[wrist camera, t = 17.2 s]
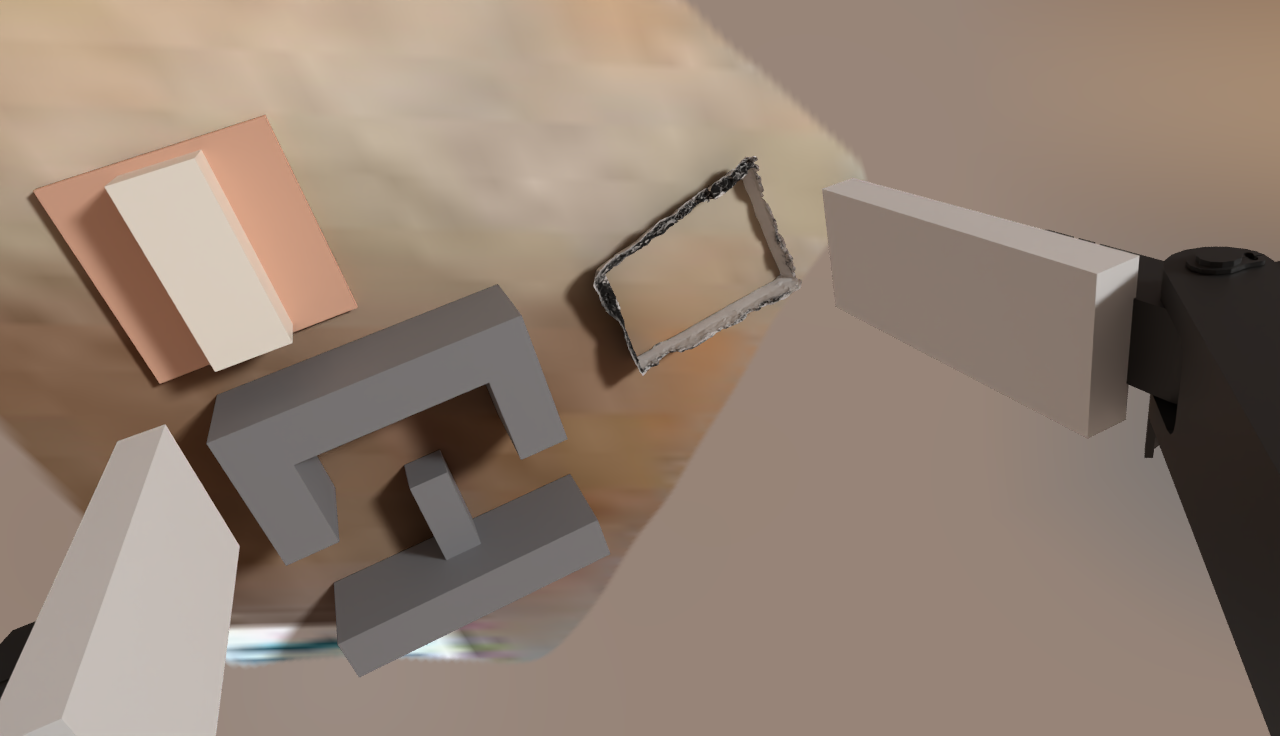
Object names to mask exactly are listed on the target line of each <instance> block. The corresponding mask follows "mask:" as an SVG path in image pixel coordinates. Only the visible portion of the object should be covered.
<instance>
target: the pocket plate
mask: <svg viewBox="0 0 1280 736" xmlns="http://www.w3.org/2000/svg"><path fill="white" fill-rule="evenodd" d="M484 384H486V386H487V389H488V391H489V393H490V396H491V398H492V401H493V403H494V405H495V408H496V410H497V413H498V415H499V417H500V419H501V421H502V423H503V425H504V427H505V429H506V431H507V433H508V435H509V437H510V439H511V441H512V443H513V445H514V447H515V449H516V451H517V453H518V455H519V457H520V459H521V460H522V459H524V458H526V457H529V456H531V455H533V454H535V453H538V452H540V451H542V450H544V449H546V448H549V447H551V446H553V445H555V444H558V443H560V442H562V441H564V440H566V439H567V436H566V433H565V431H564V428H563V425H562V423H561V420H560V417H559V415H558V412H557V409H556V407H555V404H554V401H553V399H552V396H551V393H550V390H549V388H548V385H547V382H546V380H545V377H544V374H543V372H542V369H541V366H540V364H539V361H538V358H537V356H536V353H535V350H534V347H533V345H532V342H531V339H530V337H529V334H528V331H527V329H526V326H525V323H524V321H523V318H522V315H521V314H520V313H519V311H518V310H517V309H516V307H515V306H514V305H513V303H512V302H511V301H510V299H509V298H508V297H507V296H506V294H505V293H504V292H503V290H502V289H501V288H500V286H499V285H498V284H497V285H495V286H492V287H489V288H487V289H484V290H482V291H479V292H477V293H474V294H472V295H469V296H467V297H464V298H462V299H459V300H457V301H454V302H451V303H449V304H446V305H444V306H441V307H439V308H436V309H434V310H431V311H429V312H426V313H424V314H421V315H419V316H416V317H414V318H411V319H408V320H406V321H403V322H401V323H398V324H396V325H393V326H391V327H388V328H386V329H383V330H381V331H378V332H376V333H373V334H370V335H368V336H365V337H363V338H360V339H358V340H355V341H353V342H350V343H348V344H345V345H343V346H340V347H338V348H335V349H332V350H330V351H327V352H325V353H322V354H320V355H317V356H315V357H312V358H310V359H307V360H305V361H302V362H300V363H297V364H294V365H292V366H289V367H287V368H284V369H282V370H279V371H277V372H274V373H272V374H269V375H267V376H264V377H262V378H259V379H257V380H254V381H251V382H249V383H246V384H244V385H241V386H239V387H236V388H234V389H231V390H229V391H226V392H224V393H221V394H219V395H217V398H216V403H215V407H214V412H213V416H212V421H211V425H210V430H209V434H208V439H207V443H206V444H207V445H208V447H209V448H210V450H211V451H212V453H213V454H214V456H215V457H216V459H217V460H218V462H219V464H220V465H221V467H222V468H223V470H224V471H225V473H226V474H227V476H228V477H229V479H230V480H231V482H232V483H233V485H234V486H235V488H236V490H237V491H238V493H239V494H240V496H241V497H242V499H243V500H244V502H245V503H246V505H247V506H248V508H249V509H250V511H251V513H252V514H253V516H254V517H255V519H256V520H257V522H258V523H259V525H260V526H261V528H262V529H263V531H264V532H265V534H266V536H267V537H268V539H269V540H270V542H271V543H272V545H273V546H274V548H275V549H276V551H277V552H278V554H279V555H280V557H281V558H282V560H283V562H284V563H285V565H286V566H287V565H289V564H291V563H293V562H295V561H298V560H300V559H302V558H304V557H307V556H309V555H311V554H313V553H315V552H318V551H320V550H322V549H324V548H327V547H329V546H331V545H333V544H335V543H338V542H339V532H338V519H337V506H336V492H335V487H334V485H333V483H332V481H331V480H330V478H329V476H328V474H327V473H326V471H325V469H324V467H323V466H322V464H321V462H320V460H319V459H318V457H317V455H319V454H321V453H324V452H326V451H328V450H331V449H333V448H336V447H338V446H340V445H343V444H345V443H347V442H350V441H352V440H354V439H357V438H359V437H362V436H364V435H366V434H369V433H371V432H373V431H376V430H378V429H380V428H383V427H385V426H388V425H390V424H392V423H395V422H397V421H399V420H402V419H404V418H406V417H409V416H411V415H414V414H416V413H418V412H421V411H423V410H425V409H428V408H430V407H432V406H435V405H437V404H440V403H442V402H444V401H447V400H449V399H451V398H454V397H456V396H458V395H461V394H463V393H466V392H468V391H470V390H473V389H475V388H477V387H480V386H482V385H484ZM404 466H405V471H406V475H407V479H408V483H409V487H410V490H411V492H412V494H413V496H414V498H415V500H416V502H417V504H418V506H419V508H420V510H421V512H422V514H423V516H424V517H425V519H426V521H427V523H428V525H429V527H430V529H431V531H432V533H433V535H434V537H432V538H430V539H428V540H426V541H424V542H422V543H419V544H417V545H415V546H413V547H411V548H409V549H406V550H404V551H402V552H400V553H398V554H396V555H393V556H391V557H389V558H387V559H385V560H383V561H380V562H378V563H376V564H374V565H372V566H370V567H367V568H365V569H363V570H361V571H359V572H356V573H354V574H352V575H350V576H348V577H346V578H343V579H341V580H339V581H337V582H335V583H334V593H335V609H336V625H337V642H338V646H339V647H340V649H341V650H342V652H343V653H344V655H345V657H346V658H347V660H348V661H349V663H350V664H351V666H352V667H353V669H354V670H355V672H356V673H357V675H358V676H359V677H361V676H363V675H365V674H367V673H369V672H371V671H373V670H375V669H377V668H379V667H381V666H384V665H385V664H388V663H390V662H392V661H394V660H396V659H398V658H400V657H402V656H404V655H406V654H408V653H410V652H412V651H414V650H416V649H418V648H420V647H422V646H424V645H426V644H428V643H430V642H432V641H434V640H436V639H439V638H441V637H443V636H445V635H447V634H449V633H451V632H453V631H455V630H457V629H459V628H461V627H463V626H465V625H467V624H469V623H471V622H473V621H475V620H477V619H479V618H481V617H483V616H485V615H487V614H489V613H491V612H493V611H495V610H498V609H500V608H502V607H504V606H506V605H508V604H510V603H512V602H514V601H516V600H518V599H520V598H522V597H524V596H526V595H528V594H530V593H532V592H534V591H536V590H538V589H540V588H542V587H544V586H546V585H548V584H550V583H552V582H554V581H557V580H559V579H561V578H563V577H565V576H567V575H569V574H571V573H573V572H575V571H577V570H579V569H581V568H583V567H585V566H587V565H589V564H591V563H593V562H595V561H597V560H599V559H601V558H603V557H605V556H607V555H609V554H610V552H609V549H608V546H607V544H606V541H605V538H604V536H603V533H602V530H601V528H600V525H599V522H598V520H597V518H596V516H595V515H594V513H593V511H592V510H591V508H590V506H589V505H588V503H587V501H586V500H585V498H584V496H583V495H582V493H581V491H580V490H579V488H578V486H577V485H576V483H575V481H574V480H573V478H572V476H571V475H570V474H569V475H567V476H565V477H562V478H560V479H558V480H556V481H554V482H552V483H549V484H547V485H545V486H543V487H541V488H539V489H536V490H534V491H532V492H530V493H528V494H526V495H523V496H521V497H519V498H517V499H515V500H513V501H510V502H508V503H506V504H504V505H502V506H500V507H497V508H495V509H493V510H491V511H489V512H487V513H484V514H482V515H480V516H478V517H476V518H474V519H472V517H471V514H470V512H469V510H468V508H467V506H466V504H465V502H464V500H463V498H462V495H461V493H460V491H459V489H458V487H457V485H456V483H455V481H454V479H453V476H452V474H451V472H450V470H449V468H448V466H447V464H446V462H445V460H444V458H443V455H442V453H441V451H440V450H438V451H436V452H433V453H431V454H429V455H426V456H424V457H422V458H420V459H417V460H415V461H413V462H410V463H408V464H406V465H404Z"/></svg>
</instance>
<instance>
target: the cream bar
mask: <svg viewBox="0 0 1280 736" xmlns="http://www.w3.org/2000/svg"><path fill="white" fill-rule="evenodd" d="M105 189H106V190H107V192H108V194H109V195H110V197H111V199H112V200H113V202H114V204H115V205H116V207H117V209H118V211H119V212H120V214H121V216H122V217H123V219H124V221H125V222H126V224H127V226H128V227H129V229H130V231H131V232H132V234H133V236H134V237H135V239H136V241H137V242H138V244H139V246H140V247H141V249H142V251H143V252H144V254H145V256H146V257H147V259H148V261H149V262H150V264H151V266H152V267H153V269H154V271H155V272H156V274H157V276H158V277H159V279H160V281H161V282H162V284H163V286H164V287H165V289H166V291H167V292H168V294H169V296H170V297H171V299H172V301H173V302H174V304H175V306H176V307H177V309H178V311H179V313H180V314H181V316H182V318H183V319H184V321H185V323H186V324H187V326H188V328H189V329H190V331H191V333H192V334H193V336H194V338H195V339H196V341H197V343H198V344H199V346H200V348H201V349H202V351H203V353H204V354H205V356H206V358H207V359H208V361H209V363H210V364H211V366H212V368H213V369H214V371H215V372H217V371H220V370H222V369H225V368H227V367H230V366H233V365H235V364H238V363H241V362H243V361H246V360H249V359H251V358H254V357H256V356H259V355H262V354H264V353H267V352H270V351H272V350H275V349H278V348H280V347H283V346H286V345H288V344H291V343H292V340H293V324H292V322H291V320H290V318H289V316H288V314H287V312H286V310H285V308H284V306H283V304H282V303H281V301H280V299H279V297H278V295H277V293H276V291H275V289H274V287H273V285H272V283H271V282H270V280H269V278H268V276H267V274H266V272H265V270H264V268H263V266H262V264H261V262H260V261H259V259H258V257H257V255H256V253H255V251H254V249H253V247H252V245H251V243H250V241H249V240H248V238H247V236H246V234H245V232H244V230H243V228H242V226H241V224H240V222H239V220H238V219H237V217H236V215H235V213H234V211H233V209H232V207H231V205H230V203H229V201H228V199H227V197H226V196H225V194H224V192H223V190H222V188H221V186H220V184H219V182H218V180H217V178H216V176H215V175H214V173H213V171H212V169H211V167H210V165H209V163H208V161H207V159H206V157H205V155H204V154H203V152H202V150H198V151H194V152H191V153H188V154H185V155H182V156H179V157H175V158H172V159H169V160H166V161H163V162H160V163H156V164H153V165H150V166H147V167H144V168H141V169H137V170H134V171H131V172H128V173H125V174H122V175H118V176H117V177H115V178H114V179H113V180H112V181H111V182H109V183H108V184H107V185H106V186H105Z"/></svg>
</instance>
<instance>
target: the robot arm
mask: <svg viewBox="0 0 1280 736" xmlns="http://www.w3.org/2000/svg"><path fill="white" fill-rule="evenodd" d="M822 192H823V201H824V209H825V218H826V227H827V235H828V244H829V252H830V261H831V270H832V279H833V288H834V296H835V305H836V307H837V308H839V309H841V310H843V311H845V312H847V313H849V314H851V315H852V316H854V317H856V318H858V319H860V320H862V321H864V322H866V323H868V324H870V325H871V326H873V327H875V328H877V329H879V330H881V331H883V332H885V333H887V334H889V335H891V336H892V337H894V338H896V339H898V340H900V341H902V342H904V343H906V344H908V345H910V346H912V347H914V348H915V349H917V350H919V351H921V352H923V353H925V354H927V355H929V356H931V357H933V358H934V359H936V360H939V361H940V362H942V363H944V364H946V365H948V366H950V367H952V368H954V369H955V370H957V371H959V372H961V373H963V374H965V375H967V376H969V377H971V378H973V379H975V380H977V381H978V382H980V383H982V384H984V385H986V386H988V387H990V388H992V389H994V390H996V391H997V392H999V393H1001V394H1003V395H1005V396H1007V397H1009V398H1011V399H1013V400H1015V401H1017V402H1018V403H1021V404H1022V405H1024V406H1026V407H1028V408H1030V409H1032V410H1034V411H1036V412H1038V413H1040V414H1041V415H1043V416H1045V417H1047V418H1049V419H1051V420H1053V421H1055V422H1057V423H1059V424H1061V425H1062V426H1064V427H1066V428H1068V429H1071V430H1072V431H1074V432H1076V433H1078V434H1080V435H1081V436H1083V437H1085V438H1090V437H1092V436H1094V435H1096V434H1098V433H1100V432H1102V431H1104V430H1106V429H1108V428H1110V427H1112V426H1114V425H1116V424H1118V423H1120V422H1122V421H1124V420H1126V408H1127V397H1128V396H1127V395H1128V385H1131V386H1133V387H1136V388H1138V389H1140V390H1143V391H1145V392H1147V393H1150V403H1149V412H1148V422H1147V432H1146V443H1145V458H1153V453H1154V448H1156V447H1157V446H1159V445H1160V448H1161V451H1162V453H1163V456H1164V458H1165V461H1166V463H1167V466H1168V469H1169V471H1170V474H1171V477H1172V479H1173V482H1174V484H1175V487H1176V489H1177V492H1178V495H1179V498H1180V500H1181V503H1182V505H1183V508H1184V511H1185V513H1186V516H1187V518H1188V521H1189V524H1190V526H1191V529H1192V531H1193V534H1194V537H1195V539H1196V542H1197V544H1198V547H1199V550H1200V552H1201V555H1202V557H1203V560H1204V562H1205V565H1206V568H1207V571H1208V573H1209V576H1210V578H1211V581H1212V584H1213V586H1214V589H1215V591H1216V594H1217V597H1218V599H1219V602H1220V604H1221V607H1222V610H1223V612H1224V615H1225V618H1226V620H1227V623H1228V625H1229V628H1230V631H1231V633H1232V635H1233V638H1234V641H1235V644H1236V646H1237V649H1238V651H1239V654H1240V657H1241V659H1242V662H1243V664H1244V667H1245V670H1246V672H1247V675H1248V677H1249V680H1250V683H1251V685H1252V688H1253V691H1254V693H1255V696H1256V698H1257V701H1258V703H1259V706H1260V709H1261V711H1262V714H1263V717H1264V719H1265V722H1266V725H1267V727H1268V730H1269V732H1270V735H1271V736H1280V261H1278V262H1274V261H1273V260H1271V259H1270V258H1269V257H1267V256H1265V255H1264V254H1261V253H1258V252H1257V251H1251V250H1248V249H1241V248H1232V247H1202V248H1196V249H1189V250H1184V251H1181V252H1178V253H1175V254H1173V255H1171V256H1170V257H1168V258H1167V259H1166V260H1165V261H1162V260H1157V259H1154V258H1150V257H1146V256H1143V255H1139V254H1135V253H1132V252H1128V251H1125V250H1121V249H1117V248H1113V247H1110V246H1106V245H1102V244H1100V245H1098V244H1095V242H1091V241H1087V240H1084V239H1080V238H1079V239H1076V238H1074V237H1072V236H1069V235H1065V234H1062V233H1058V232H1054V231H1050V230H1044V229H1039V228H1036V227H1032V226H1028V225H1024V224H1021V223H1017V222H1014V221H1010V220H1006V219H1002V218H999V217H995V216H992V215H988V214H984V213H981V212H977V211H973V210H970V209H966V208H962V207H958V206H955V205H951V204H947V203H943V202H940V201H936V200H932V199H929V198H925V197H921V196H918V195H914V194H911V193H907V192H903V191H899V190H896V189H892V188H889V187H885V186H881V185H878V184H874V183H870V182H867V181H863V180H859V179H856V178H851V179H848V180H845V181H843V182H840V183H837V184H834V185H832V186H829V187H826V188H823V189H822ZM239 548H240V546H239V544H238V543H237V541H236V539H235V538H234V536H233V534H232V533H231V531H230V529H229V528H228V526H227V525H226V523H225V521H224V520H223V518H222V516H221V515H220V513H219V511H218V510H217V508H216V507H215V505H214V503H213V502H212V500H211V498H210V497H209V495H208V493H207V492H206V490H205V489H204V487H203V485H202V484H201V482H200V480H199V479H198V477H197V475H196V474H195V472H194V471H193V469H192V467H191V466H190V464H189V462H188V461H187V459H186V457H185V456H184V454H183V452H182V451H181V449H180V448H179V446H178V444H177V443H176V441H175V439H174V438H173V436H172V434H171V433H170V431H169V430H168V428H167V426H166V425H162V426H159V427H156V428H154V429H151V430H148V431H145V432H142V433H140V434H137V435H134V436H131V437H129V438H126V439H123V440H120V441H118V442H117V444H116V446H115V448H114V450H113V453H112V455H111V457H110V459H109V461H108V464H107V466H106V468H105V470H104V472H103V475H102V477H101V479H100V481H99V483H98V486H97V488H96V490H95V492H94V494H93V497H92V499H91V501H90V503H89V505H88V508H87V510H86V512H85V514H84V516H83V519H82V521H81V523H80V525H79V527H78V530H77V532H76V534H75V536H74V538H73V541H72V543H71V545H70V547H69V549H68V552H67V554H66V556H65V558H64V560H63V563H62V565H61V567H60V569H59V572H58V574H57V576H56V578H55V580H54V582H53V585H52V587H51V589H50V591H49V593H48V596H47V598H46V600H45V602H44V604H43V607H42V609H41V611H40V613H39V615H38V618H37V620H36V621H35V622H33V623H31V624H28V625H25V626H23V627H20V628H18V629H15V630H13V631H12V632H11V633H10V634H9V635H8V636H7V637H6V638H5V639H4V641H3V642H2V643H1V644H0V736H216V730H217V722H218V714H219V706H220V698H221V690H222V682H223V674H224V666H225V659H226V651H227V643H228V635H229V627H230V619H231V611H232V603H233V595H234V587H235V579H236V571H237V563H238V555H239Z"/></svg>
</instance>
